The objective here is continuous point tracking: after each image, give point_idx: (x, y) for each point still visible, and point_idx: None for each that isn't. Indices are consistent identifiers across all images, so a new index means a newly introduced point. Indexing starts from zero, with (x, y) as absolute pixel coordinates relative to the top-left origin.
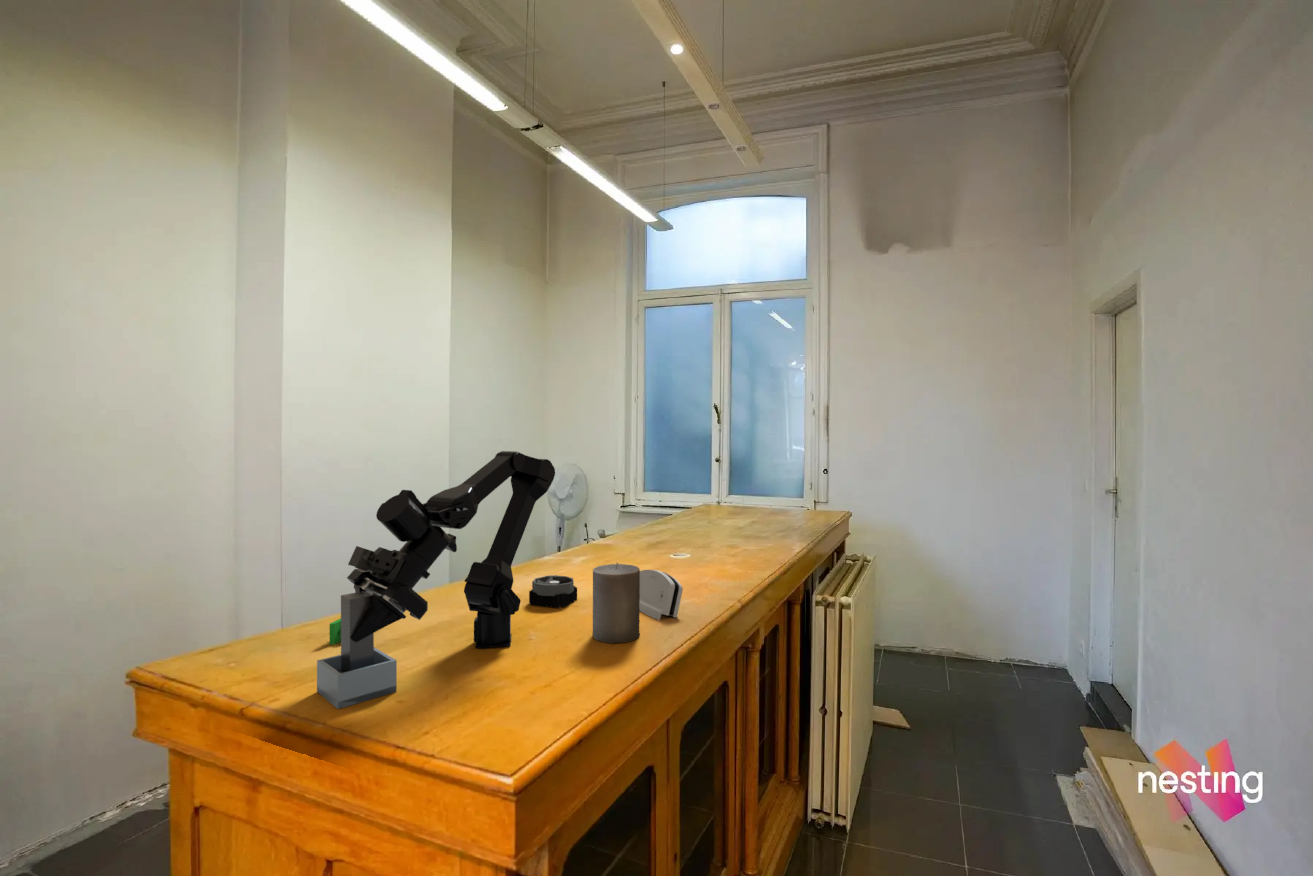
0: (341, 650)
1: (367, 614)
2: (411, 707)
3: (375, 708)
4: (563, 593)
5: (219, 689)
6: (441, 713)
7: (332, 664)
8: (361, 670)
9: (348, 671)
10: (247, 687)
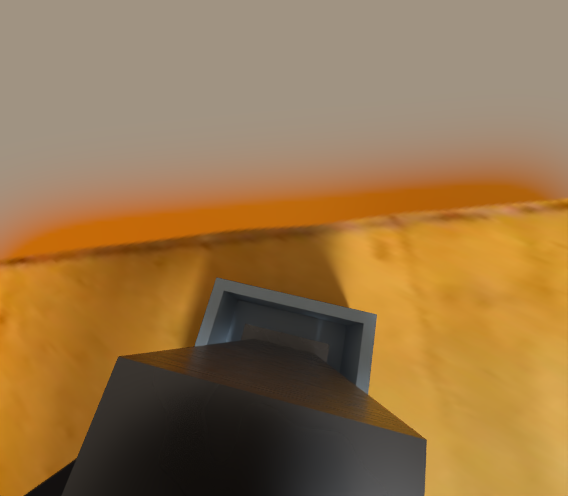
0: (317, 358)
1: None
2: (101, 383)
3: (170, 335)
4: None
5: (521, 222)
6: (17, 399)
7: (354, 351)
8: (196, 340)
9: (217, 310)
10: (493, 254)
